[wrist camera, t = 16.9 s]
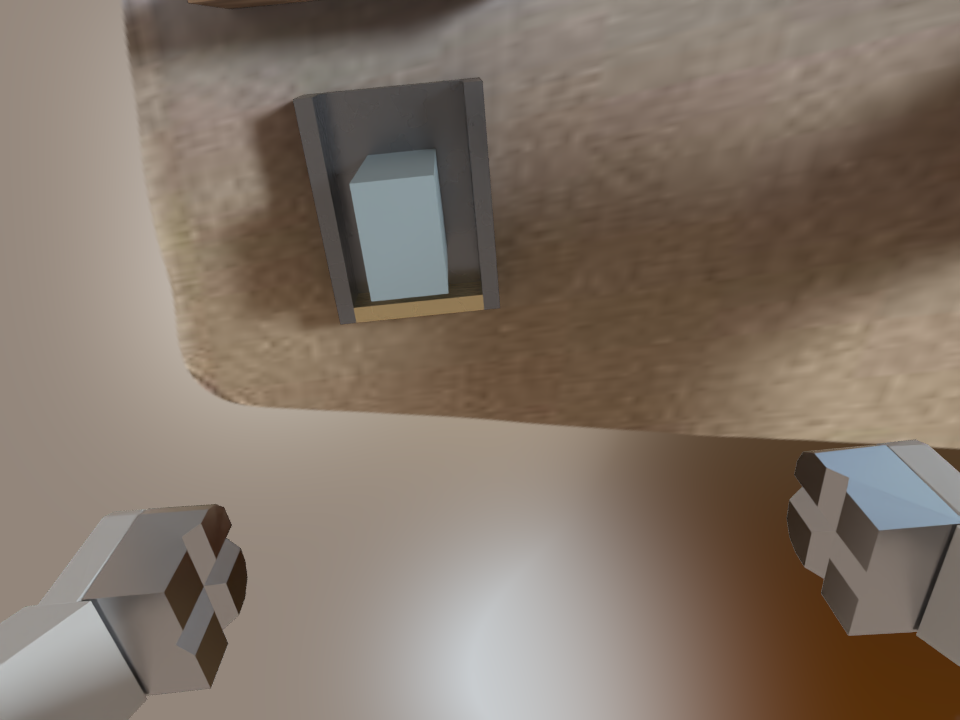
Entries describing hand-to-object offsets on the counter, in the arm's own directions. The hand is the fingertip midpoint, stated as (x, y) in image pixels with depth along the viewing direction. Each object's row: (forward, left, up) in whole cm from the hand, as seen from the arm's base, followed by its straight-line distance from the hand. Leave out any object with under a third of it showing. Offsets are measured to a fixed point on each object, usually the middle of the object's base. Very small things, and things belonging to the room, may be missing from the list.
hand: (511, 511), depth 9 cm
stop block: (+3, +3, -31) cm, 31 cm away
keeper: (+3, +3, -32) cm, 32 cm away
